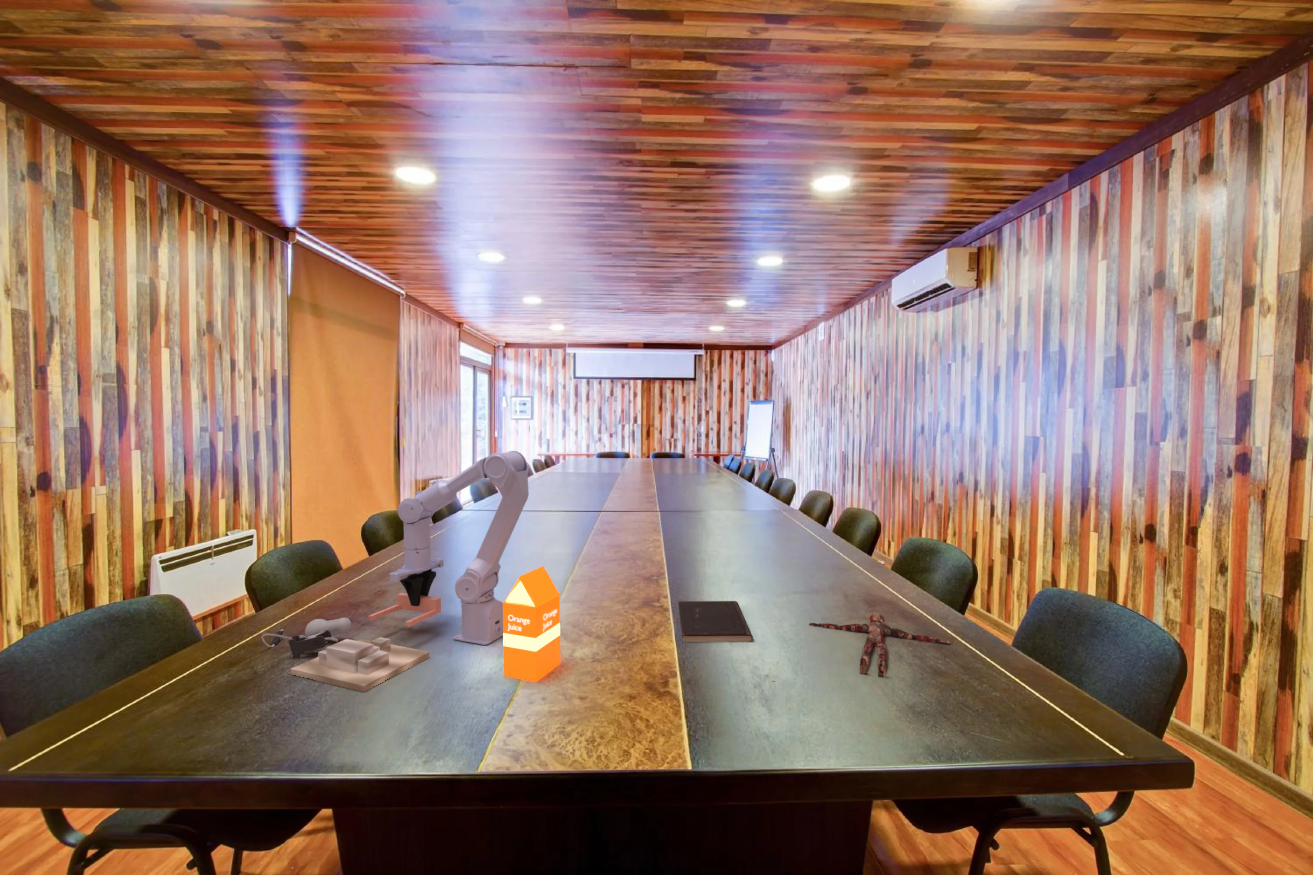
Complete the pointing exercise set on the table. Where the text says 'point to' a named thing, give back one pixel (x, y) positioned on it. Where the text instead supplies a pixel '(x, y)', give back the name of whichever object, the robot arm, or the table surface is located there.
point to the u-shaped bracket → (413, 608)
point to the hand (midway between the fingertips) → (418, 603)
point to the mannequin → (877, 640)
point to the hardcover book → (713, 622)
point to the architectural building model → (360, 663)
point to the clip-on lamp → (313, 635)
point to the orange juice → (531, 627)
